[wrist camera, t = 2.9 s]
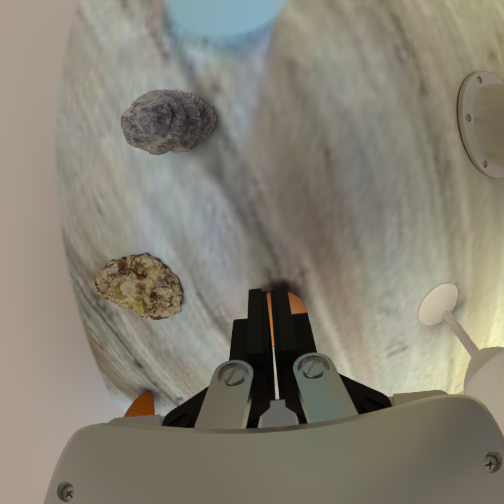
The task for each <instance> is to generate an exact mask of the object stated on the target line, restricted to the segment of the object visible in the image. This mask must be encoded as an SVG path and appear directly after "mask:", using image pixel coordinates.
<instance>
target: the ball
mask: <svg viewBox="0 0 504 504" xmlns="http://www.w3.org/2000/svg"><path fill="white" fill-rule="evenodd" d="M288 296H289V301H290V307H291V313H292V314H297V313H306V312H307V309H306V306H305V305H304V303H303V302H302V300H301V299H300V298H298V297H297V296H296V295H294V294H292V293H290V292H288ZM267 301H268V310H269V319H270V327H271V336H272V347H274V336H273V322H272V309H271V296H270V293H268V294H267ZM307 314H308V312H307Z"/></svg>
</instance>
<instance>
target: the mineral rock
mask: <svg viewBox="0 0 504 504" xmlns="http://www.w3.org/2000/svg"><path fill="white" fill-rule="evenodd" d="M95 286H96V291H97V292H98V294H99V295H102V296H103V297H104V299H107V300H110V301H111V302H112V303H115V304H117V305H119V306H120V307H122V308H126V309H132V310H133V311H135V312H136V313H137V314H138V315H140V316H142V317H145V318H148V316H150V317H151V318H152V319H154V320H160V319H163V318H168V317H169V316H172V315H175V314H176V313H180V312H181V304H182V302H181V301H182V299H183V298H182V294H183V292H182V291H181V289H180V284H179V278H178V277H177V275H176V274H174V273H172V272H171V270H170V269H169V268H167V267H166V266H165V265H164V264H162V263H161V262H160V261H159V260H158V259H157V258H156V257H153V256H148V255H147V254H144V255H142V256H128V257H127V258H125V257H123V258H121V259H120V260H116V261H115V260H111V261H110V262H109V263H108V264H107V266H105V268H104V269H103V270H101V271H100V273H98V274H97V278H96V281H95Z"/></svg>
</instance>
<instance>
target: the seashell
mask: <svg viewBox="0 0 504 504" xmlns="http://www.w3.org/2000/svg"><path fill="white" fill-rule="evenodd" d="M215 122H216V116H215V114H214V107H211V106H210V105H209V104H207V102H206V101H204V100H203V99H202V98H200V97H199V96H196V95H193V94H192V93H188V92H186V93H184V92H182V91H179V92H178V91H177V90H174V91H172V90H154V91H150V92H148V93H146V94H144V95H142V96H141V97H139V98H138V99H136V100H135V101H134V102H133V103H132V104H131V106H130V107H129V108H128V109H127V110H126V111H125V112H124V113H123V115H122V116H121V127H122V129H123V131H124V135H125V138H126V141H127V143H128V144H130V145H132V146H134V147H135V148H140V149H143V150H145V151H148V152H149V153H150V154H153V155H160V154H164V153H166V152H168V151H172V152H184V151H189V150H190V149H192V148H193V146H194V145H195V144H197V143H198V142H199V141H204V140H205V139H206V138H207V137H209V134H210V133H211V131H212V130H213V127H214V126H215Z"/></svg>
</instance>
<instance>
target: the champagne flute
mask: <svg viewBox="0 0 504 504" xmlns="http://www.w3.org/2000/svg"><path fill="white" fill-rule="evenodd" d="M457 300H458V290H457V288H456V286H455V285H453V284H451V283H444V284H441V285H439V286H437V287H436V288H434V289H433V290H432V291H431V292H430V293H429V294H428V295H427V296H426V297H425V299H424V300H423V302H422V304H421V306H420V309H419V320H420V322H421V323H422V324H424V325H427V326H431V325H435V324H438V323H439V322H441V321H443V320H444V319H445V321H446V322H447V323H448V325H449V326H450V327H451V329H452V330H453V331H454V333H455V334H456V336H457V337H458V338H459V340H460V341H461V343H462V344H463V346H464V347H465V348H466V350H467V351H468V353H469V354H470V356H471V357H472V358H471V360H470V362H469V365H468V368H467V372H466V375H465V379H464V395H470V396H473V397H476V398H477V399H479V400H480V401H481V402H482V403H483V404H484V405H485V406H486V407H487V408H488V410H489V411H490V413H491V414H492V415H493V417H494V419H495V420H496V422H497V424H498V426H499V428H500V430H501V431H502V433H503V435H504V347H490V348H483V349H481V350H479V349H478V348H477V346H476V345H475V344H474V342H473V341H472V339H471V338H470V337H469V335H468V334H467V333H466V331H465V330H464V329H463V327H462V326H461V325H460V324H459V322H458V321H457V320H456V318H455V317H454V316H453V315H452V313H451V312H452V310H453V309H454V307H455V305H456V303H457Z"/></svg>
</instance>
